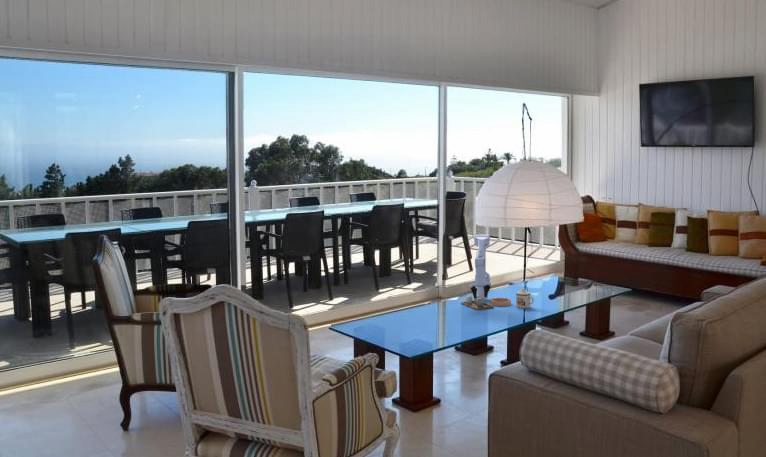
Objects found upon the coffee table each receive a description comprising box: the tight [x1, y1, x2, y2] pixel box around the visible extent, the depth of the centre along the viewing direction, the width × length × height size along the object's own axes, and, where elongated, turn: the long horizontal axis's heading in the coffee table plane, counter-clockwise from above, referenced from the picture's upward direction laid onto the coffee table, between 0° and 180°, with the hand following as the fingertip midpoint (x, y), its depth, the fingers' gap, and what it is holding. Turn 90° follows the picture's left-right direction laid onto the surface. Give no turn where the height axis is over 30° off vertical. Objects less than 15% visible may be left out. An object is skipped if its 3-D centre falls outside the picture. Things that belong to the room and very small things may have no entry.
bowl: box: [489, 297, 512, 307], centre depth 456 cm, size 13×13×3 cm
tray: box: [460, 300, 495, 311], centre depth 452 cm, size 20×13×2 cm, turn 23°
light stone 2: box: [473, 295, 480, 305], centre depth 457 cm, size 4×4×6 cm
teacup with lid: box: [515, 288, 535, 309], centre depth 448 cm, size 12×9×12 cm
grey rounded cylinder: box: [477, 298, 485, 308], centre depth 448 cm, size 4×4×6 cm
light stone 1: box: [465, 295, 473, 305], centre depth 455 cm, size 4×4×6 cm
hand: (480, 297), depth 448 cm, fingers open, 7 cm apart
